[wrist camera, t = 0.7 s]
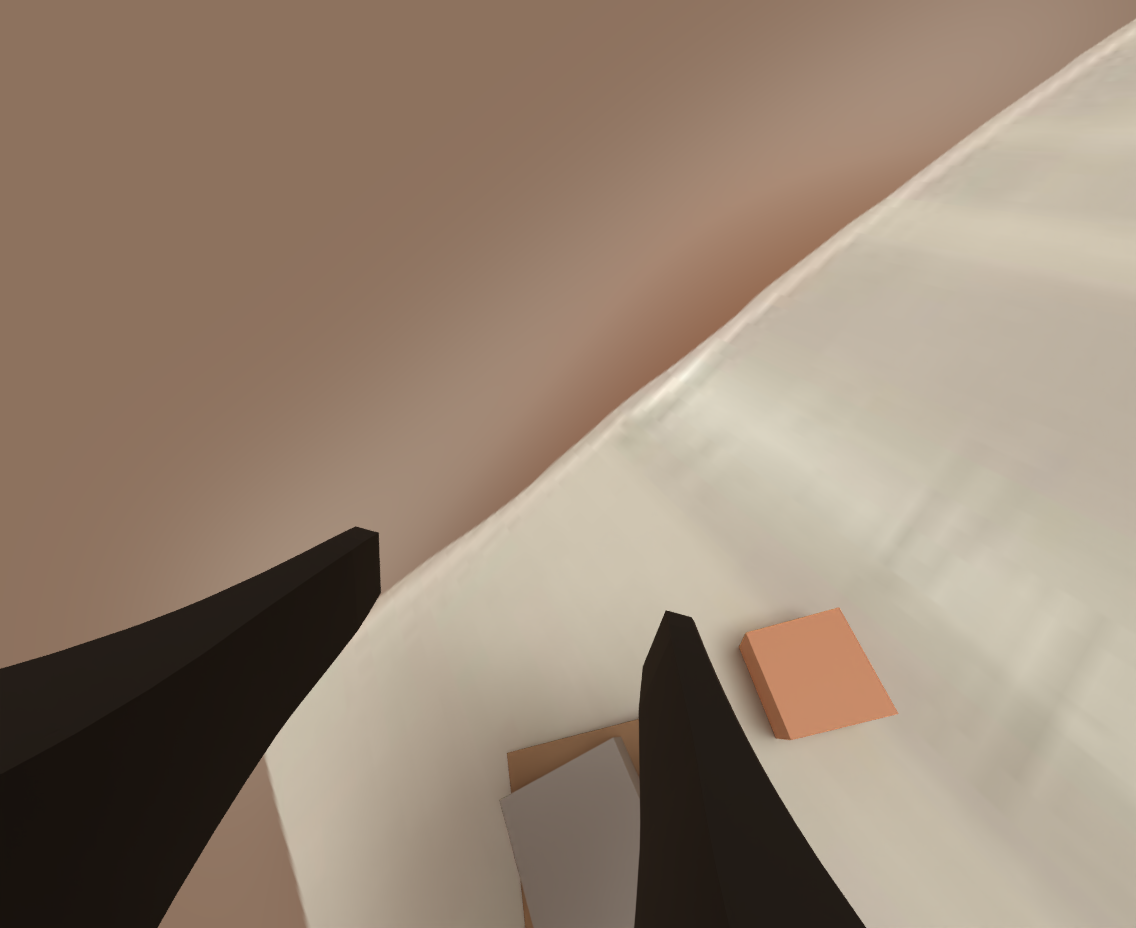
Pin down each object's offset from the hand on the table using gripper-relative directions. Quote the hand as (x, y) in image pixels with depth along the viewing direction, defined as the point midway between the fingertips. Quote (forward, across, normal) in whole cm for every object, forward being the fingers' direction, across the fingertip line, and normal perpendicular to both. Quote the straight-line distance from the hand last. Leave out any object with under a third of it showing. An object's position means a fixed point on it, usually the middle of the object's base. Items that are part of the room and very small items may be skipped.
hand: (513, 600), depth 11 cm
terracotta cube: (+10, -14, +11) cm, 20 cm away
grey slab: (+3, -5, +16) cm, 18 cm away
